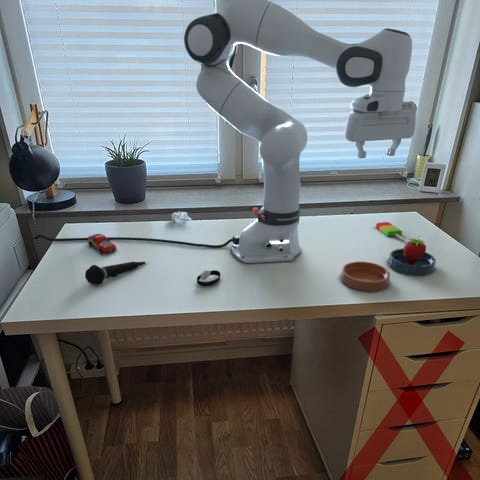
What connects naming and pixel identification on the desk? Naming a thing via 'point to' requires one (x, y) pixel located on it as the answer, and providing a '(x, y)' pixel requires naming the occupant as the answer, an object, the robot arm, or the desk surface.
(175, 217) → the crumpled paper
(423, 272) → the slate bowl
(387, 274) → the terracotta bowl
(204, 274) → the watch
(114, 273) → the microphone
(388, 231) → the popsicle
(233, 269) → the desk surface
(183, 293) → the desk surface
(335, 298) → the desk surface
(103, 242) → the race car
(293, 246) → the robot arm
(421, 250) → the strawberry
